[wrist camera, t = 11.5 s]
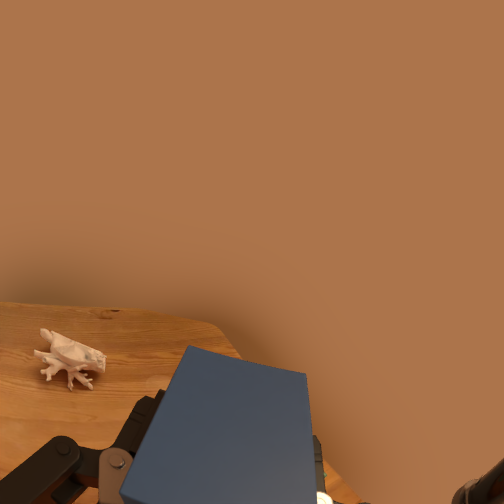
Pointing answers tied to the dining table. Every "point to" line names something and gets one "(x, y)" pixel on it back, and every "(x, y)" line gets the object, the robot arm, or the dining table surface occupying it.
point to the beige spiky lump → (70, 358)
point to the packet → (226, 437)
